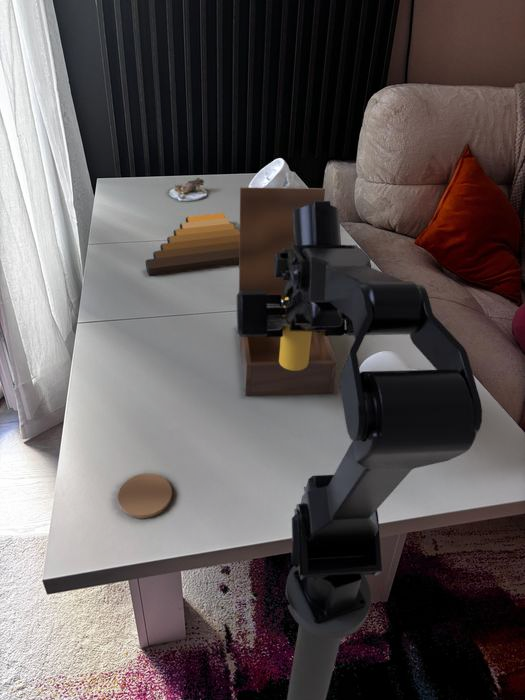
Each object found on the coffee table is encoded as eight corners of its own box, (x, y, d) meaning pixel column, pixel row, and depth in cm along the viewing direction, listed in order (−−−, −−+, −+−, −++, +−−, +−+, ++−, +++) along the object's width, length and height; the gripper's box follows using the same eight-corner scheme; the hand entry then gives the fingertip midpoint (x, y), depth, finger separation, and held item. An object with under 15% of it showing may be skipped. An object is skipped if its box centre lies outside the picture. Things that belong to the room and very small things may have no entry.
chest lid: (325, 189, 95) (320, 184, 99) (240, 188, 93) (238, 183, 97) (316, 299, 104) (312, 291, 108) (239, 300, 102) (237, 292, 106)
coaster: (177, 510, 71) (177, 507, 71) (122, 524, 69) (122, 521, 69) (165, 471, 77) (165, 468, 76) (114, 483, 74) (114, 480, 74)
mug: (379, 432, 85) (388, 392, 80) (353, 392, 93) (360, 353, 88) (447, 420, 88) (460, 381, 83) (416, 382, 96) (426, 344, 91)
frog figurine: (193, 184, 172) (193, 172, 169) (216, 195, 164) (215, 183, 162) (161, 191, 166) (160, 178, 163) (183, 203, 158) (182, 190, 156)
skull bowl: (310, 197, 163) (291, 162, 155) (269, 223, 165) (249, 190, 157) (300, 185, 171) (282, 151, 163) (262, 210, 173) (242, 177, 165)
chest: (332, 393, 92) (337, 363, 88) (245, 395, 90) (246, 365, 87) (312, 328, 108) (316, 300, 104) (238, 329, 106) (238, 301, 103)
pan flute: (149, 277, 122) (255, 262, 130) (148, 263, 120) (255, 249, 128) (128, 232, 140) (222, 222, 148) (127, 219, 138) (222, 210, 146)
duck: (310, 370, 85) (319, 299, 77) (280, 371, 84) (286, 299, 77) (304, 347, 90) (311, 279, 82) (276, 348, 89) (281, 279, 82)
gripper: (383, 237, 71) (351, 275, 86) (238, 237, 69) (232, 275, 84) (389, 322, 69) (356, 344, 84) (241, 324, 67) (234, 347, 82)
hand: (295, 326), depth 84 cm, fingers closed on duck, 4 cm apart
